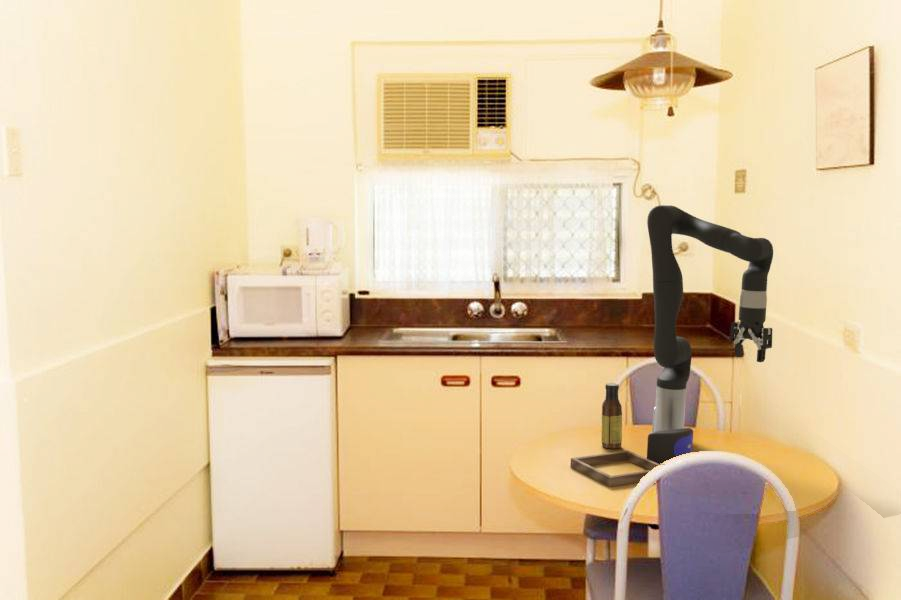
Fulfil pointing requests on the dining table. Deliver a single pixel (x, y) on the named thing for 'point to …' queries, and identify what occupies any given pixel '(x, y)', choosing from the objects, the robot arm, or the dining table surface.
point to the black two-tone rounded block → (669, 444)
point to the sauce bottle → (611, 418)
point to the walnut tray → (585, 462)
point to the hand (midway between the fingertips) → (749, 359)
